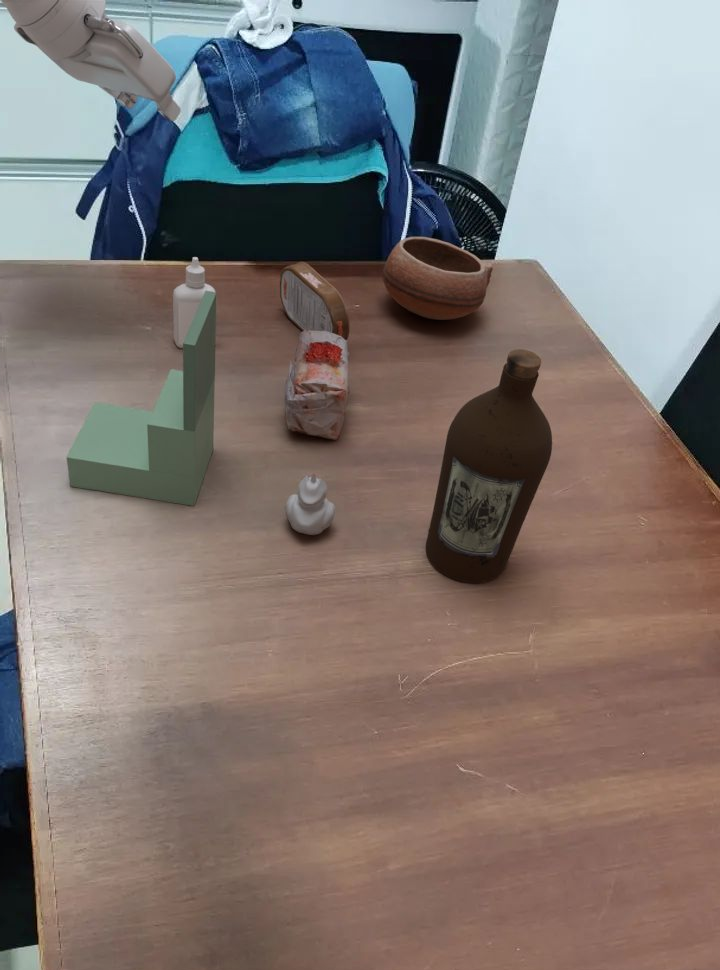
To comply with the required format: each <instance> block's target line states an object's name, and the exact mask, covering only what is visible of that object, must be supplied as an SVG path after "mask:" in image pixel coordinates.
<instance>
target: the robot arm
mask: <svg viewBox="0 0 720 970" xmlns="http://www.w3.org/2000/svg"><path fill="white" fill-rule="evenodd" d="M0 2H1V3H2V4H3V5H4V7H5V8H6V10H7V11H8V13H9V15H10V16H11V18H12V19H13V21H14V22H15V24H14V25H13V30H14V31H15V32H16V33H17V34H18V36H19V37H21V38H22V39H23V40H24V41H25V42H27V43H28V44H31V45H34V46H36V47H37V48H38V50H40V51H41V52H42V53H43V54H45V56H47V58H49V59H50V60H51V61H52V62H53V63H54V64H55V65H56V66H58V68H60V69H61V70H62V71H63V72H64V73H66V74H67V75H68V76H70V77H71V78H73V79H74V80H77V81H80V82H83V83H86V84H91V85H95V86H98V88H100V89H101V90H103V91H104V92H105V93H106V94H108V95H110V96H111V97H112V98H114V99H115V100H116V101H117V102H118V103H119V104H120V105H121V107H123V108H127V109H130V110H131V109H133V108H134V107H135V104H136V103H137V102H138V98H143V99H145V100H150V101H151V102H154V104H155V105H156V107H157V109H156V111H158V113H159V114H160V115H161V116H162V117H163V118H164V119H165V120H168V121H171V122H175V121H176V120H177V119H178V117H179V115H180V114H181V107H180V106H179V104H178V103H177V102H176V101H175V100H174V99H173V96H172V93H171V89H172V87H173V85H174V84H175V82H176V79H177V75H176V73H175V69H174V68H173V67H172V66H171V64H170V63H169V62H168V61H167V60H166V59H165V58H164V57H163V56H162V54H160V52H159V51H158V50H157V49H156V48H155V47H154V46H153V45H152V44H151V43H150V42H149V40H148V39H147V38H146V37H144V35H142V33H141V32H139V30H138V29H136V28H135V27H134V26H132V25H131V24H130V23H128V22H126V21H122V20H118V19H113V18H109V17H108V14H107V13H106V12H105V10H106V3H107V2H106V0H0Z"/></svg>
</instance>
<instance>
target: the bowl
mask: <svg viewBox="0 0 720 970" xmlns="http://www.w3.org/2000/svg"><path fill="white" fill-rule="evenodd" d="M493 270H494V269H493V265H492V263H489V262H485V261H483V260H482V259H480V258H479V257H477V255H476V254H473V253H471V252H469V251H467V250H466V249H464V248H461V247H459V246H456V245H454V244H453V243H450V242H446V241H443V240H440V239H437V238H432V237H427V236H409V237H406V238H403V239H402V240H400V241H399V242H398V243H397V244H396V245H395V246H394V247H393V249H392V250H391V252H390V253H389V255H388V257H387V259H386V261H385V263H384V265H383V270H382V281H383V284H384V287H385V288H386V291H387V292H388V294H389V296H391V298H392V299H393V300H394V301H395V302H397V304H399V305H400V306H401V307H402V308H404V309H406V310H408V311H409V312H411V313H413V314H415V315H418V316H420V317H422V318H426V319H430V320H435V321H436V320H437V321H445V320H446V321H447V320H455V319H459V318H462V317H465V316H468V315H469V314H472V313H475V312H476V311H477V310H478V309H479V308H480V307H481V306H482V305H483V303H484V300H485V298H486V296H487V295H486V294H487V289H488V286H489V284H490V282H491V278H492V272H493Z"/></svg>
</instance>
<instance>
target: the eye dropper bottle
mask: <svg viewBox="0 0 720 970" xmlns="http://www.w3.org/2000/svg"><path fill="white" fill-rule="evenodd" d="M205 291H211V292H216V290H215V288H214V287H213V286H212V285H210V284H207V283H206V269H205V267H203V266H202V265H200V262H199V258H198V257H197V256H193V257H192V260H191V264H189V265H187V266H186V267H185V283H182V284H180V285H178V286H176V287H175V288H174V290H173V293H172V309H173V310H172V311H173V312H172V313H173V315H172V318H173V319H172V321H173V322H172V323H173V324H172V325H173V341H174V344H175V345H176V347H178V348H179V349H183V342H184V340H185V337H186V335H187V333H188V330H189V328H190V326H191V323H192V321H193V319H194V316H195V314H196V312H197V309H198V307H199V305H200V302H201V300H202V298H203V295H204V293H205ZM217 314H218V298H217V299H216V325H217V323H218V322H217V320H218V319H217V317H218V315H217Z"/></svg>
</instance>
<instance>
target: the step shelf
mask: <svg viewBox="0 0 720 970" xmlns="http://www.w3.org/2000/svg"><path fill="white" fill-rule="evenodd" d="M217 295H218V293H217V291H215V292H211V291H205V293H204V295H203V298H202V300H201V302H200V305H199V307H198V309H197V312H196V314H195V316H194V319H193V321H192V323H191V326H190V328H189V330H188V333H187V335H186V337H185V340H184V342H183V348H182V370H179V369H173V368H170V370H169V372H168V375H167V376H166V379H165V382H164V384H163V385H162V389H161V391H160V394H159V396H158V398H157V400H156V403H155V405H154V407H153V410H147V409H140V408H134V407H128V406H124V405H116V404H110V403H103V402H98V401H94V403H93V405H92V407H91V409H90V411H89V413H88V415H87V417H86V418H85V420H84V423H83V424H82V426H81V428H80V430H79V432H78V434H77V436H76V438H75V440H74V442H73V444H72V445H71V448H70V450H69V451H68V454H67V455H66V464H67V472H68V480H69V486H70V487H72V488H73V487H74V488H79V489H87V490H91V491H98V492H105V493H111V494H117V495H122V496H128V497H129V496H130V497H134V498H135V497H136V498H141V499H147V500H154V501H155V500H156V501H160V502H166V503H174V504H179V505H185V506H191V507H195V506H196V503H197V500H198V497H199V493H200V490H201V487H202V485H203V481H204V478H205V475H206V472H207V468H208V467H209V464H210V460H211V457H212V455H213V451H214V437H215V435H214V431H215V429H214V428H215V390H216V389H215V386H216V385H215V384H216V343H217V324H216V299H217V300H218V296H217Z"/></svg>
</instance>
